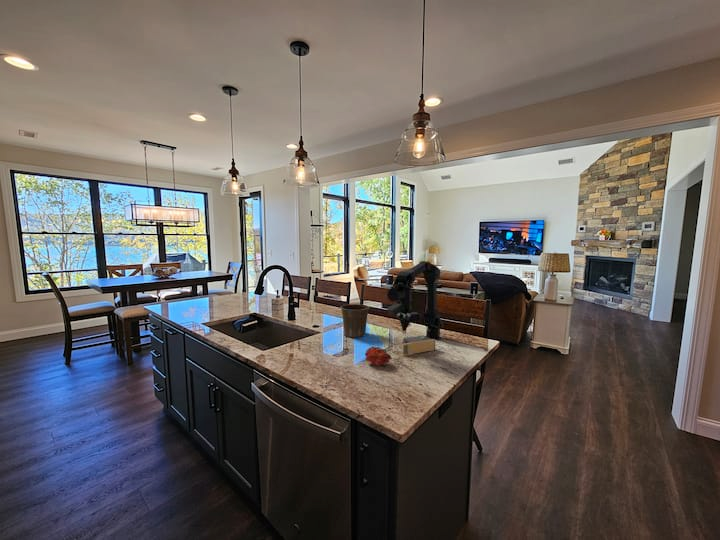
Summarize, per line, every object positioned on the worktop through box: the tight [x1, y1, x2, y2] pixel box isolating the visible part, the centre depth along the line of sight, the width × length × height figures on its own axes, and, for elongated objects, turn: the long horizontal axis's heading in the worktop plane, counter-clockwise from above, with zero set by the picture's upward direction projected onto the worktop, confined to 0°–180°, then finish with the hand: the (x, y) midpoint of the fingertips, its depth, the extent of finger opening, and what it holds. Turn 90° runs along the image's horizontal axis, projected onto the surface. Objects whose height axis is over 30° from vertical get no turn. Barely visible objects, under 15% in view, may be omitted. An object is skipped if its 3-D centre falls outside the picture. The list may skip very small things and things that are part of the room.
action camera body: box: [401, 334, 431, 345], centre depth 146 cm, size 13×8×6 cm, turn 114°
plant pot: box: [340, 303, 370, 338], centre depth 168 cm, size 16×16×16 cm
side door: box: [401, 339, 436, 356], centre depth 141 cm, size 18×1×5 cm, turn 114°
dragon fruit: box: [364, 345, 393, 368], centre depth 127 cm, size 8×8×12 cm
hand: (404, 330), depth 141 cm, fingers closed
